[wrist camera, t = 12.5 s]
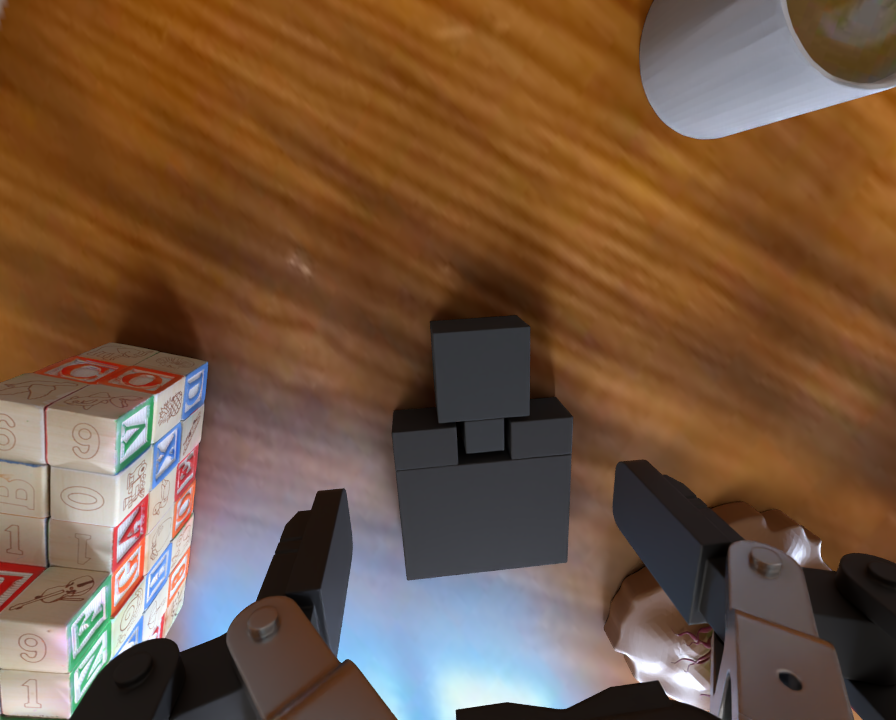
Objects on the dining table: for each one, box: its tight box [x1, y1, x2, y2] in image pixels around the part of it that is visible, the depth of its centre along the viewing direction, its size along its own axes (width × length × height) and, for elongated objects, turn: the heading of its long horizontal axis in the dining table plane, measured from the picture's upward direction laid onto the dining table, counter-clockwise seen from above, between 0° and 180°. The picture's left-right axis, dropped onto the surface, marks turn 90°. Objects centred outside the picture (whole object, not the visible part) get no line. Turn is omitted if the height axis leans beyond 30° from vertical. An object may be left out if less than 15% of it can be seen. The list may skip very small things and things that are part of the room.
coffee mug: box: [639, 0, 896, 139], centre depth 21 cm, size 13×10×10 cm
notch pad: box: [392, 397, 573, 580], centre depth 31 cm, size 12×12×4 cm
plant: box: [604, 502, 832, 710], centre depth 34 cm, size 20×20×11 cm
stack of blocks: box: [0, 343, 208, 720], centre depth 25 cm, size 21×6×12 cm, turn 165°
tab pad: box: [430, 315, 530, 453], centre depth 29 cm, size 6×8×4 cm
